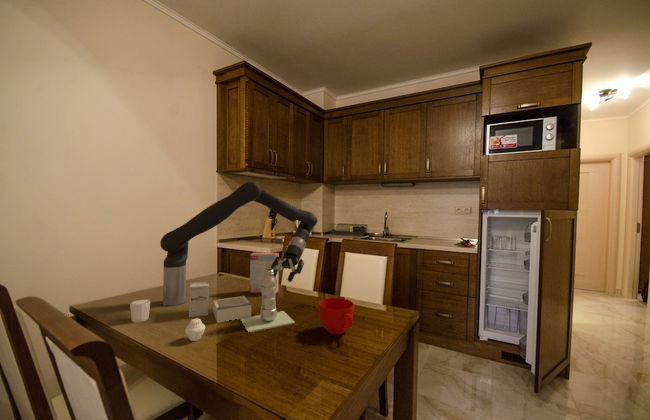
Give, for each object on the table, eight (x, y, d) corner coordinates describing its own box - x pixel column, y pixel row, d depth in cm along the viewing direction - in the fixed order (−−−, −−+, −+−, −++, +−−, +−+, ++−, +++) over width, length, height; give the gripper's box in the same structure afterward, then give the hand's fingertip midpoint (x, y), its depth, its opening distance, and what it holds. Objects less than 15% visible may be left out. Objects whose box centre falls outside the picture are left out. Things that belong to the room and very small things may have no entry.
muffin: (206, 334, 98) (207, 314, 98) (203, 342, 92) (203, 321, 92) (187, 335, 96) (188, 315, 96) (182, 344, 90) (183, 322, 90)
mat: (248, 332, 99) (248, 331, 99) (240, 319, 111) (240, 318, 111) (294, 323, 108) (294, 321, 108) (283, 312, 119) (283, 310, 119)
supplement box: (188, 318, 112) (188, 286, 112) (190, 311, 119) (190, 282, 119) (208, 315, 114) (208, 285, 114) (208, 309, 121) (209, 280, 121)
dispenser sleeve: (217, 322, 107) (217, 307, 107) (213, 311, 119) (213, 297, 119) (251, 317, 114) (251, 302, 114) (244, 307, 125) (244, 293, 125)
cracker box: (278, 291, 150) (279, 252, 150) (275, 294, 144) (276, 254, 144) (253, 290, 151) (254, 251, 151) (249, 293, 145) (250, 253, 145)
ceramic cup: (334, 347, 90) (334, 316, 90) (312, 327, 105) (312, 300, 105) (367, 338, 96) (367, 310, 96) (341, 321, 111) (342, 296, 111)
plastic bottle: (279, 318, 111) (280, 268, 111) (271, 324, 105) (272, 271, 105) (265, 315, 114) (266, 267, 114) (256, 322, 107) (257, 270, 107)
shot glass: (154, 317, 112) (154, 300, 112) (136, 324, 105) (136, 305, 105) (143, 314, 115) (143, 297, 115) (125, 320, 108) (125, 302, 108)
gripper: (279, 242, 128) (262, 272, 117) (306, 244, 121) (291, 276, 111) (285, 252, 132) (270, 282, 122) (311, 255, 126) (298, 286, 116)
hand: (280, 279), depth 117 cm, fingers open, 8 cm apart
